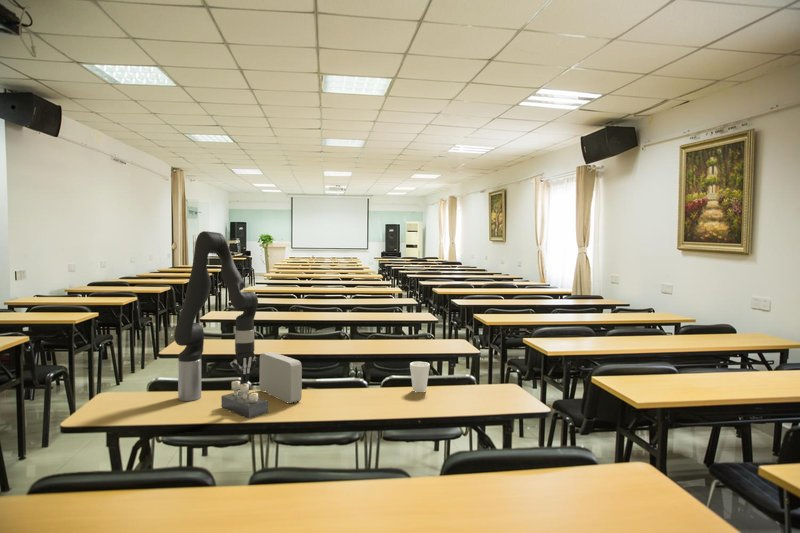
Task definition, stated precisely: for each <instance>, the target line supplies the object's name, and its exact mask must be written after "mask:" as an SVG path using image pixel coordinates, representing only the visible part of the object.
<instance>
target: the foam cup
mask: <svg viewBox="0 0 800 533" xmlns="http://www.w3.org/2000/svg"><path fill="white" fill-rule="evenodd" d="M409 369H410V376H411V386H412V391H413V390H414V391H416V392H424V391H426V392H427V387H428V379H429V373H430V369H431V366H430V363H429V362H426V361H412V362H410V363H409ZM416 392H415V393H416Z"/></svg>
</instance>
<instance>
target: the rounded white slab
mask: <svg viewBox="0 0 800 533" xmlns="http://www.w3.org/2000/svg"><path fill="white" fill-rule="evenodd" d="M259 359H260V360H259V390H260V391H261V392H262V391H266V392H267V393H268V394H270V395H269V396H271V395H272V396H271V397H273V396H275V397H277V398H279V399H281V400H283V401H285V402H284V403H286V402H288V403H290V404H294V403H297V401H298V402H301V400H302V397H303V396H302V392H303V390H302V386H303V384H302V383H303V382H302V381H303V380H302V379H303V378H302V376H303V375H302V374H303V373H302V372H303V368H302V362H301V361H300V360H298V359H295V358H292V357H289V356H286V355H283V354H280V353H276V352H274V351H269V352H263V353H260V355H259ZM268 394H267V395H268ZM275 397H274V398H275ZM277 398H276V399H277ZM279 399H278V400H279ZM281 400H280V401H281ZM283 401H282V402H283ZM293 402H294V403H293ZM288 403H287V404H288Z"/></svg>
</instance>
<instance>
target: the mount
mask: <svg viewBox="0 0 800 533" xmlns="http://www.w3.org/2000/svg"><path fill="white" fill-rule="evenodd" d="M249 394H250V393H249V392H248V393H247V399H243V393H240V390H238V396H234V392H231V393H228V394H224V395H223V394H222V395H221V404H220V405H221V406H220V407H222V408H221V409H224V410H227V411H229V412H231V413H234V414H235V415H238V416H240V417H244V418H245V419H248V420H249V419H253V418H257V417H259V416H262V415H265V414H269V400H268V399H265V398H262V397H259V396H258V402H256V403H250V402H249Z"/></svg>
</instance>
